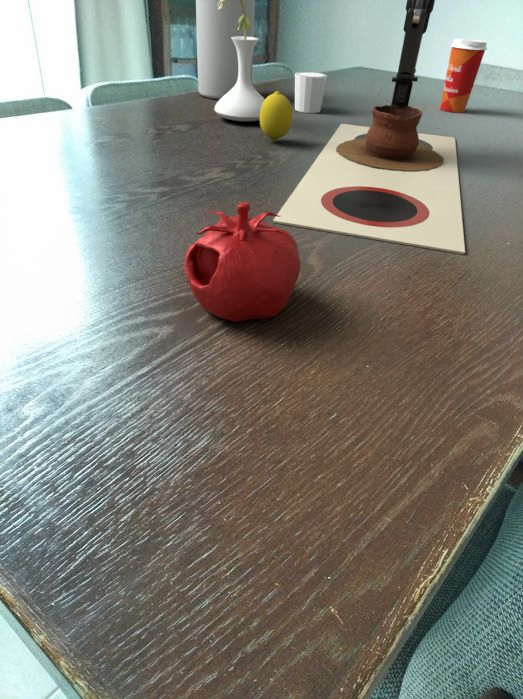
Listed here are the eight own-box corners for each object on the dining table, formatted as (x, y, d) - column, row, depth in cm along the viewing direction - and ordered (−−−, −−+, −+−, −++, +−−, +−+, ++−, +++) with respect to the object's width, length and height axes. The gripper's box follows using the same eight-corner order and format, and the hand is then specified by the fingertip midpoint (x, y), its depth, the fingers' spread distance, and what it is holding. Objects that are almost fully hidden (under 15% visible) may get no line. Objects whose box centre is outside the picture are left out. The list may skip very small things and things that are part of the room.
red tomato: (295, 277, 48) (305, 183, 43) (297, 337, 40) (310, 230, 35) (194, 270, 48) (191, 175, 43) (177, 329, 40) (170, 221, 35)
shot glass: (285, 108, 108) (288, 72, 104) (305, 105, 112) (309, 70, 108) (309, 115, 104) (313, 77, 100) (329, 111, 108) (334, 75, 104)
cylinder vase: (233, 103, 109) (235, -40, 94) (187, 95, 114) (182, -43, 99) (261, 95, 118) (267, -37, 103) (217, 87, 123) (217, -40, 107)
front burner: (430, 197, 68) (430, 195, 68) (427, 237, 58) (428, 235, 57) (330, 182, 71) (330, 180, 71) (310, 218, 60) (310, 216, 60)
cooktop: (454, 139, 94) (455, 137, 94) (464, 254, 54) (465, 252, 54) (341, 125, 99) (341, 123, 98) (272, 222, 59) (272, 220, 58)
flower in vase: (227, 110, 104) (228, -41, 89) (278, 117, 101) (289, -38, 86) (201, 123, 94) (197, -44, 79) (257, 131, 91) (264, -40, 76)
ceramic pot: (400, 179, 73) (411, 128, 69) (314, 149, 83) (319, 103, 79) (464, 159, 83) (477, 114, 78) (380, 134, 93) (387, 93, 89)
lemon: (256, 144, 85) (258, 92, 80) (261, 136, 89) (263, 86, 84) (288, 147, 84) (292, 95, 79) (291, 139, 89) (295, 89, 84)
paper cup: (432, 105, 119) (448, 37, 111) (463, 107, 119) (482, 39, 111) (439, 112, 113) (458, 41, 104) (473, 114, 113) (494, 43, 104)
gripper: (408, -53, 75) (377, 114, 90) (402, -58, 66) (369, 131, 80) (458, -50, 74) (419, 119, 88) (460, -54, 64) (416, 137, 79)
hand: (395, 124), depth 84 cm, fingers closed
